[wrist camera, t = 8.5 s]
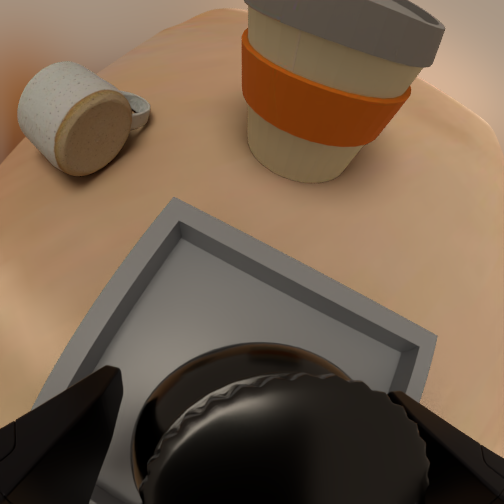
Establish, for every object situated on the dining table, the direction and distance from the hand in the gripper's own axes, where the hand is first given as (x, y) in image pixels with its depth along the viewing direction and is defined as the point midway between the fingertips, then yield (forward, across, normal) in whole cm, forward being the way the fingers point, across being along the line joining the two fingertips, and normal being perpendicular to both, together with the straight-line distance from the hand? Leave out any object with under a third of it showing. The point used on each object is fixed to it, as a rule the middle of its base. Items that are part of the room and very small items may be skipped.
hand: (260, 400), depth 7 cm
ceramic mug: (+19, +14, -6) cm, 25 cm away
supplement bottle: (+5, 0, +7) cm, 8 cm away
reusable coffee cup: (+20, -3, -8) cm, 22 cm away
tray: (+5, 0, +7) cm, 9 cm away
